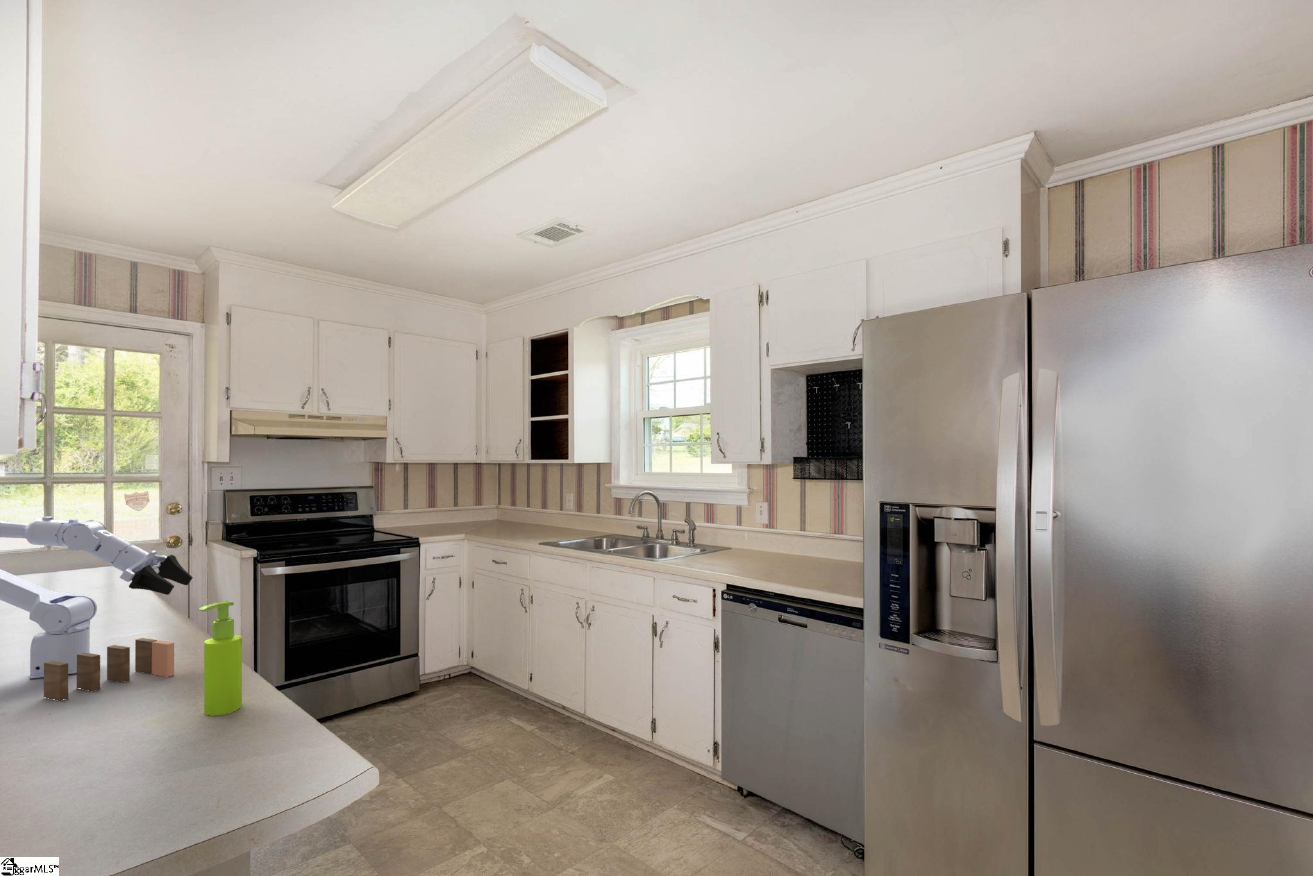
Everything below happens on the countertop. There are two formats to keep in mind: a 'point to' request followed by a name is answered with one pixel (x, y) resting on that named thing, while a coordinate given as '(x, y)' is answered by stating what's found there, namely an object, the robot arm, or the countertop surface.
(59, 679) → the end tile
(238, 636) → the soap dispenser
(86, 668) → the tile
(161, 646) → the lead tile
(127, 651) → the tile
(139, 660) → the tile
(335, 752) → the countertop surface
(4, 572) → the robot arm
